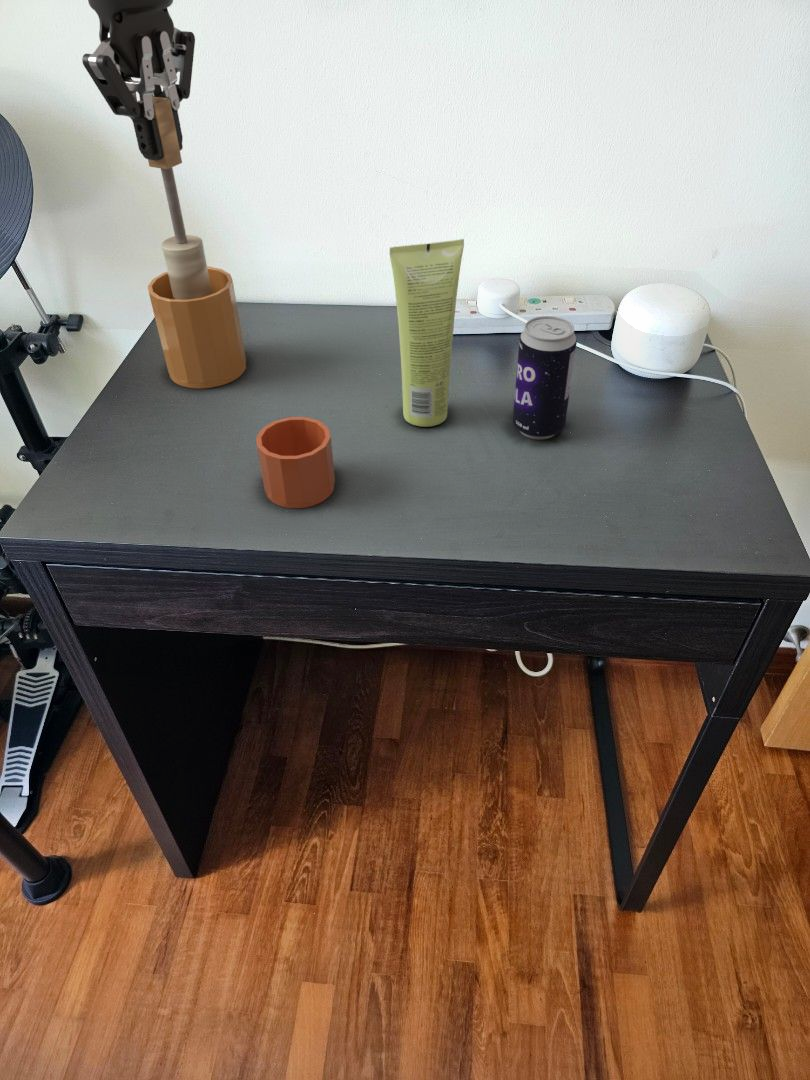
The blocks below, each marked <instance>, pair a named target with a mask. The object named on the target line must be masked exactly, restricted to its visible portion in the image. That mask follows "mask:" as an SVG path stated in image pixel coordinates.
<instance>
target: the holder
mask: <svg viewBox="0 0 810 1080" xmlns="http://www.w3.org/2000/svg"><path fill="white" fill-rule="evenodd" d="M255 440H256V449H257V454H258V460H259V465H260V471H261V472H260V473H261V478H262V482H263V483H262V484H263V489H264V494H265V495H266V498H267V499H268V500H269V501H271V503H273V504H274V505H277V506H280V507H282V508H286V509H305V508H310V507H314V506H316V505H319V504H320V503H323V502H324V501H326V500H327V499H328V498H330V496H331V495H332V493H334V490H335V486H336V475H335V465H334V456H333V446H332V435H331V432H330V428H329V427H328V426H327V425H326V424H325V423H323V422H322V421H320V420H318V419H315V418H311V417H308V416H288V417H284V418H281V419H275V420H273V421H272V422H270V423H268V424H267V425H264V426H263V427H262V428H261V429H260V431H259V432H258V434H257V435H256V438H255Z"/></svg>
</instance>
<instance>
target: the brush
mask: <svg viewBox="0 0 810 1080" xmlns="http://www.w3.org/2000/svg"><path fill="white" fill-rule="evenodd" d="M152 101H153V108H154V117H153V119H156V121H157V126H158V131H159V136H160V141H161V145H162V150H163V158H162V159H160V160H157V161H156V160H150V159H147V162H148V166H149V167H150V168H155V169H160V172H161V177H162V182H163V187H164V191H165V197H166V201H167V205H168V210H169V215H170V219H171V224H172V229H173V234H174V236H171V237H168V238H166V239H164V240H163V242H162V243H161V250H162V253H163V258H164V261H165V263H164V264H165V266H166V272H168V276H169V280H170V285H171V289H172V294H173V297H174V299H178V300H188V299H195V298H202V297H205V296H208V295H211V293H212V289H211V284H210V279H209V273H208V268H207V266H208V263H207V258H206V253H205V248H204V242H203V239H202V237H200V236H198V235H193V234H187V232H186V228H185V223H184V222H185V221H184V217H183V213H182V208H181V202H180V198H179V192H178V188H177V183H176V179H175V178H176V177H175V174H174V173H175V172H174V167H177V166H179V165H181V164H182V163H183V160H182V159H183V158H182V154H181V151H180V149H179V144H178V139H177V133H176V128H175V123H174V118H173V113H172V108H171V102H170V99H169V98H161V97H153V96H152ZM137 103H138V104H140V99H139V100H137Z"/></svg>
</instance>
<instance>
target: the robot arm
mask: <svg viewBox="0 0 810 1080" xmlns="http://www.w3.org/2000/svg"><path fill="white" fill-rule="evenodd" d="M87 1H88V2H87V3H88V5H89V7H90V8H91V9H92V10H93V11H94V12H95V13H96V15H97V17H98V20H99V33H98V37H99V41H100V42H99V43H100V44H98V46H97V48H96V49H95V51H94V52H93V53H83V56H82V57H81V58H82V59H81V60H82V61H81V62H82V64H83V65H82V66H83V67H84V69H85V70H86V71H87V73H88V75H89V77H90V78H91V80H92V81H93V83H94V85H95V86H96V87H97V89H98V91H99V92H100V94H101V95H102V97H103V98H104V101H105V102H106V103H107V105H108V106H109V108H110V110H111V111H112V113H113V114H114V115H115V116H123V117H127V118H129V119H131V121H132V125H133V129H134V133H135V137H136V142H137V146H138V150H139V152H140V154H141V155H142V156H143V159H145V160H148V159H150V160H156V161H157V160H160V159H162V158H163V150H162V145H161V141H160V136H159V131H158V126H157V121H156V119H153V117H154V108H153V101H152V96H153V97H161V98H169V99H170V102H171V108H172V113H173V118H174V123H175V128H176V133H177V139H178V144H179V149H180V152H181V151H182V150H183V148H184V146H183V139H184V138H183V137H184V136H183V132H182V127H181V122H180V117H179V111H178V110H179V109H180V108H181V102H182V101H183V100H187V99H189V97H190V95H191V87H192V77H193V66H194V57H195V56H194V55H195V45H196V37H195V34H194V32H193V31H186V30H181V29H179V28H177V27H175V24H174V22H173V19H172V17H171V14H170V12H169V10H168V8H169V7H171V6H172V5H173V3H174V0H87ZM177 73H179V81H178V75H177ZM134 79H140V80H134ZM177 82H178V84H177ZM137 93H138V95H139V100H140V104H138V103H137V101H138V97H137Z"/></svg>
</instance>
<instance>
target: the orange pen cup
mask: <svg viewBox="0 0 810 1080" xmlns="http://www.w3.org/2000/svg"><path fill="white" fill-rule="evenodd" d="M207 268H208V273H209V279H210V284H211V289H212V293H211V295H208V296H205V297H202V298H195V299H188V300H178V299H174V297H173V294H172V289H171V285H170V280H169V276H168V271H165V272H163V273H161V274H159V275H157V276H156V277H154V278H152V279H151V281H150V282H149V283H148V284H147V291H148V296H149V301H150V303H151V309H152V312H153V316H154V319H155V324H156V329H157V332H158V335H159V340H160V345H161V348H162V353H163V356H164V360H165V364H166V369H167V373H168V376H169V378H170V380H171V381H172V382H173V383H175V384H176V385H177V386H181V387H184V388H188V389H196V390H197V389H198V390H199V389H211V388H212V389H213V388H217V387H222V386H225V385H227V384H229V383H231V382H233V381H236V380H237V379H239V377H241V376H242V375H243V374H244V373H245V371H246V369H247V357H246V356H247V355H246V351H245V344H244V339H243V333H242V326H241V322H240V316H239V309H238V304H237V297H236V292H235V286H234V285H235V284H234V280H233V277H232V275H231V273H229V272H227V271H226V270H224V269H222V268H218V267H213V266H208V265H207Z"/></svg>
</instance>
